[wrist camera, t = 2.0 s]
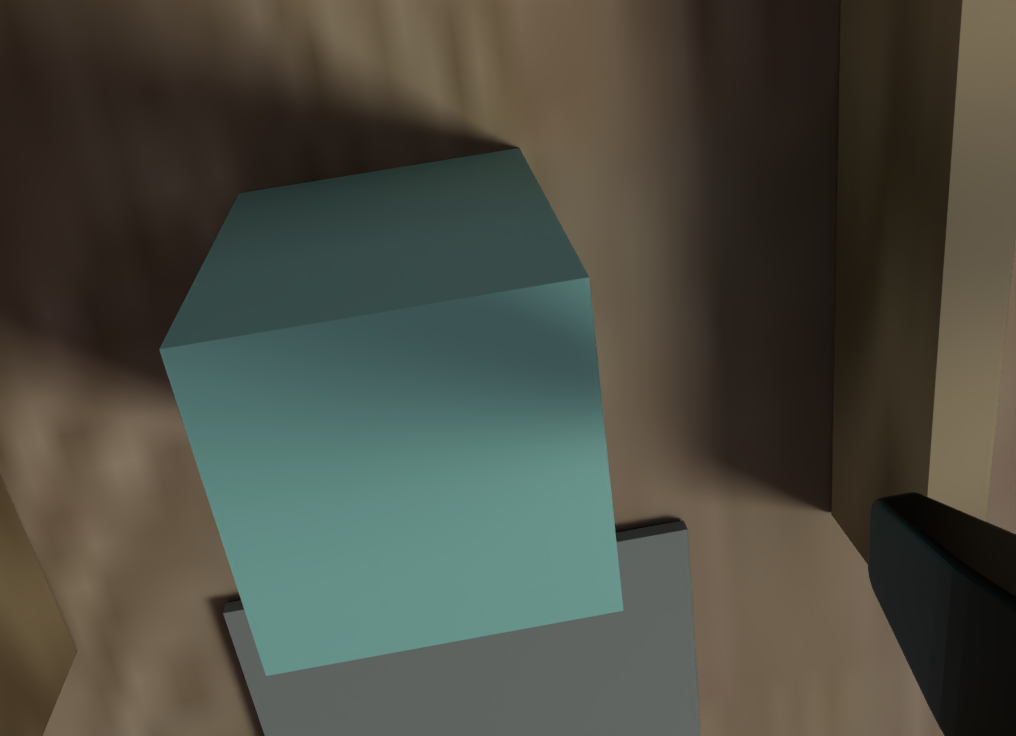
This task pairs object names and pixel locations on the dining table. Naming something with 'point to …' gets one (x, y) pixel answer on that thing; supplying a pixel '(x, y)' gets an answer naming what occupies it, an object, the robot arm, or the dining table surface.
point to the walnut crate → (858, 296)
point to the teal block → (399, 411)
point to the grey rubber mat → (513, 669)
